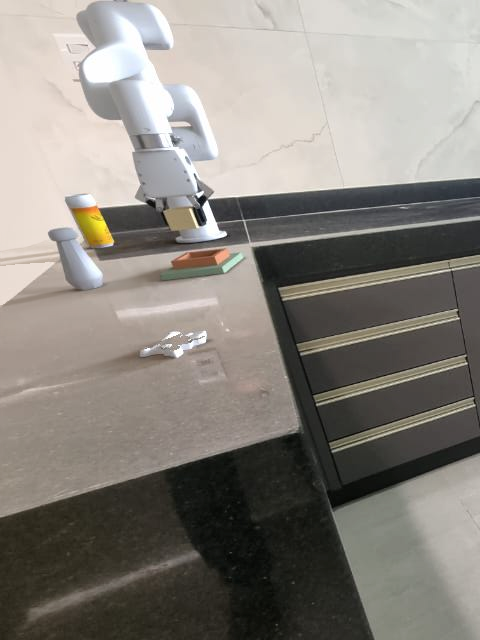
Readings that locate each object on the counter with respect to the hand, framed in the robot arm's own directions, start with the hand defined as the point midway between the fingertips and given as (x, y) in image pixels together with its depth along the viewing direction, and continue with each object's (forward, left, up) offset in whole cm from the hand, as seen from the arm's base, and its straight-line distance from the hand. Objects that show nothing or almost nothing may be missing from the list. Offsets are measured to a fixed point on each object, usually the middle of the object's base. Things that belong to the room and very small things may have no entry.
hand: (188, 225), depth 124 cm
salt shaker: (+6, -20, -11) cm, 23 cm away
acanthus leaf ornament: (+59, +13, -11) cm, 61 cm away
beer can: (-51, -41, -11) cm, 66 cm away
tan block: (0, 0, 0) cm, 0 cm away
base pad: (0, 0, -10) cm, 10 cm away
